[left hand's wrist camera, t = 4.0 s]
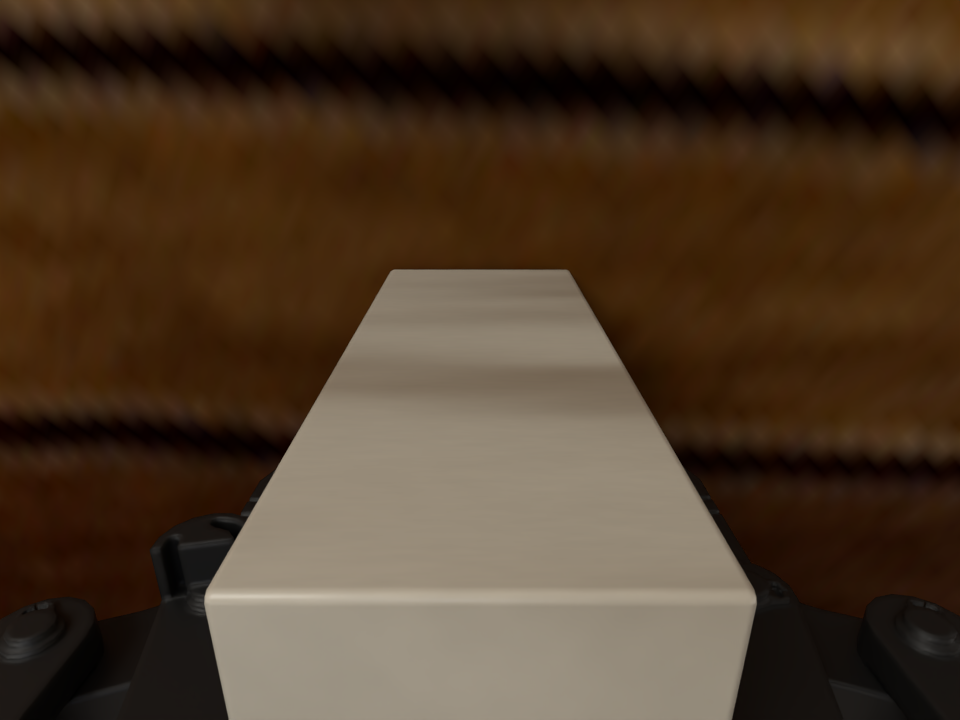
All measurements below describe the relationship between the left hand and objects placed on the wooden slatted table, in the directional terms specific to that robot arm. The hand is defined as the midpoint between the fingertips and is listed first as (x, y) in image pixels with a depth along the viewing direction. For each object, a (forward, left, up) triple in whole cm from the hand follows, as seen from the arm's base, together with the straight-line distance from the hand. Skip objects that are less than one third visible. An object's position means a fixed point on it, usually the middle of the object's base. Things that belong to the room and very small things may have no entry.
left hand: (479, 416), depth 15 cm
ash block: (0, +8, 0) cm, 9 cm away
